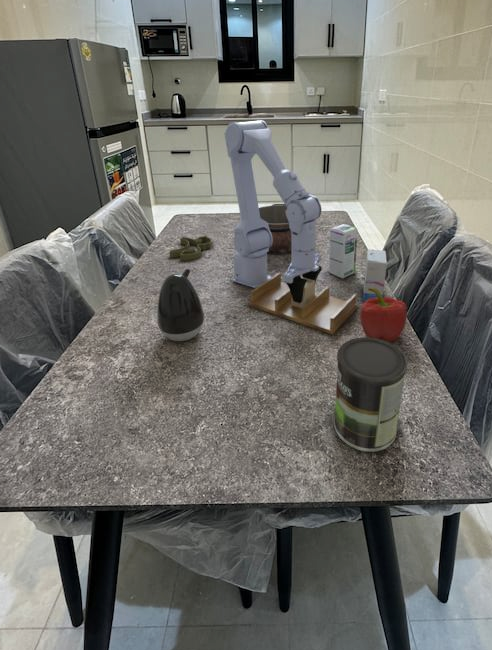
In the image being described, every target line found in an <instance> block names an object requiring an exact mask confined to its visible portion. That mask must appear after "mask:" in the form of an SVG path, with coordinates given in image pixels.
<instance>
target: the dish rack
mask: <svg viewBox="0 0 492 650" xmlns="http://www.w3.org/2000/svg"><path fill="white" fill-rule="evenodd" d="M249 294H250V300H249V302H248V306H250V307H252V308H255V309H258V310H261V311H264V312H267V313H270V314H271V315H272V314H273V315H275V316H278V317H281V318H283V319H286V320H289V321H293V322H295V323H298V324H300V325H303V326H306V327H309V328H312V329H314V330H318V331H321V332H323V333H325V334H329V335H332V336H333V335H334V334H335V333H336V332H337V331H338V329H339V328H340V327H341V326H342V325H343V324H344V323H345V322H346V321H347V320H348V318H350V316H351V315H352V314H353V313H354V312H355V311H356V310H357V308H358V303H357V295H358V294H356V293H353V294H352V295H351V296H350V297H349V298H348V299H347V300H344V299H340V298H337V297H334V296H332V295H330V286H329V285H327V286H325V287H324V288H323V289H322V290H321V291H319V292H318V291H315V297H314V298H313V299H311V300H310V301H309V302H308V303H307V304H306V305H304V306H303V307H302V308H298V307H295V306H292V305H291V292H290V289H289V287H288V285H287V284H286V282H284V281H282V273H281V272H277V273H276V274H273V276H272V277H271V278H270V279H268V280H267V281H265V282H264V283H262V284H261V285H259V286H258V287H256V288H253V289H252V290H250V291H249Z"/></svg>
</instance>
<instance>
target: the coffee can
mask: <svg viewBox="0 0 492 650" xmlns="http://www.w3.org/2000/svg"><path fill="white" fill-rule="evenodd" d="M336 359H337V368H336V387H335V405H334V417H333V427H334V430H335V432H336V434H337V436H338V437H339V439H341V441H342V442H343V443H345V444H346V445H347V446H349V447H351V448H353V449H355V450H358V451H361V452H367V453H375V452H380V451H383V450H385V449H387V448H388V447H390V446H391V445H392V444H393V443H394V442H395V440H396V437H397V432H398V431H397V430H398V424H399V423H398V421H399V415H400V409H401V402H402V395H403V389H404V382H405V376H406V372H407V370H408V360H407V357H406V354H405V353H404V352H403V351H402V350H401V349H400V348H398V347H397V346H396V345H394V344H393V343H391V342H387V341H384V340H381V339H377V338H370V337H368V336H363V337H355V338H351V339H349V340H347V341H345V342H344V343H342V344H341V345H340V346H339V348H338V350H337V353H336Z"/></svg>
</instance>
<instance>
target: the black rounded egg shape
mask: <svg viewBox="0 0 492 650" xmlns="http://www.w3.org/2000/svg"><path fill="white" fill-rule="evenodd" d="M190 273H191V270H190V269H189V268H186V269H185V270H184V271H183V273H182V274H180V273H173V274H170V275H169V276H167V277H166V278H165V279H164V280H163V283H162V284H161V287H160V291H159V295H158V301H157V308H156V310H157V311H156V319H157V320H156V321H157V326H158V329H159V330H160V331H161V332H162V334H163V335H164V337H166V338H167V339H169V340H171V341H174V342H185V341H189V340H191V339H193V338H195V337H196V336H198V334H199V333H200V331H201V330H202V327H203V324H204V321H205V312H204V309H203V305H202V302H201V299H200V297H199V295H198V292H197V290H196V288H195V287H194V286H193V283H192V282H191V281H190V279H189V278H188V277H189V275H190Z"/></svg>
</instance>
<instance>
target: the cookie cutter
mask: <svg viewBox="0 0 492 650" xmlns="http://www.w3.org/2000/svg"><path fill="white" fill-rule="evenodd" d="M179 240H180V244H181V245H185V246H183V247H180V248H176V249H171V250H169V258H170V259H171V258H180V261H192V260H193V261H194V260H196V259H199V258H200V257H202V251H203V250H207V249H211V248H212V247H213V242H212V238H210V237H209V236H208V235H203V236H199V237H197V238H191V237H186V236H185V237H184V236H182V237H180V238H179ZM190 245H193V246H196V247H197V251H196V248H195V247H193V248H191V247H190Z"/></svg>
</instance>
